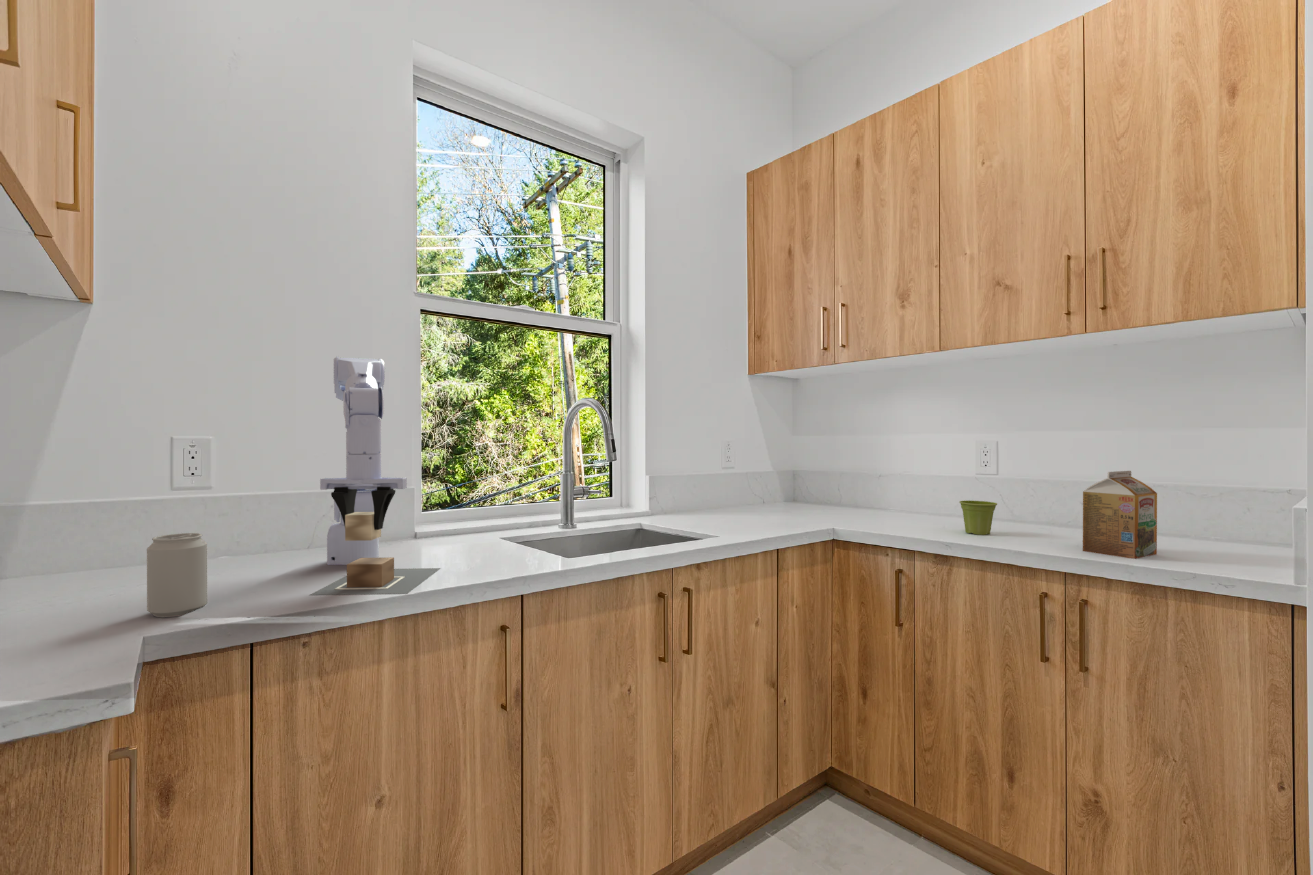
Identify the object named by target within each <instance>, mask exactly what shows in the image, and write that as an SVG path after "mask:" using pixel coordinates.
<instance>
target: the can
mask: <svg viewBox="0 0 1313 875" xmlns="http://www.w3.org/2000/svg"><path fill="white" fill-rule="evenodd" d="M202 536H203V534H202V533H198V532H197V533H195V532H186V533H182V532H181V533H171V534H164V535H163V534H162V535H159V536H158V535H157V536H154V537H152V539H151V540H152V541H153V542H152V543H151V544H150V545H149V546H148V547H147V548H146V611H147V612H148V613H150V614H152V615H153V617H157V618H174V617H181V616H185V615H188V614H190V613H192V612H195V611H197V610H199V609H202V608H204V607H205V606H206V605H207V604H208V542H206V541H205V540H204V539H203V538H202Z"/></svg>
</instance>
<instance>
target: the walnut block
mask: <svg viewBox="0 0 1313 875" xmlns="http://www.w3.org/2000/svg"><path fill="white" fill-rule="evenodd" d="M394 569H395V557H389V556H388V557H379V558H359V559H357V560H355V561H353V562H351V563H349V564H347V565H346V576H347V587H382V586H384V585H386V584H387V583H389V582H390V581H392V580H393V579H394Z"/></svg>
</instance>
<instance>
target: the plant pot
mask: <svg viewBox="0 0 1313 875" xmlns="http://www.w3.org/2000/svg"><path fill="white" fill-rule="evenodd" d="M958 503H959V504H960V507H961V509H962V516H963V522H964V523H963V524H964V531H965V533H966V534H973V535H975V536H976V535H977V536H978V535H980V536H985V535H990V534H991V530H992V523H993V518H994V512H995V510H996V506H997V505H998V503H997V502H993V501H986V500H984V501H983V500H970V499H969V500H959V502H958Z"/></svg>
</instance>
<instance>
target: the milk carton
mask: <svg viewBox="0 0 1313 875" xmlns="http://www.w3.org/2000/svg"><path fill="white" fill-rule="evenodd" d="M1157 543H1158V492H1156V491H1155V490H1154V489H1153V488H1152V487H1150V486H1149V485H1147V484H1146V483H1144V482H1142V481H1141V480H1139V479H1137V478H1134V477H1133V476H1132V470H1119V471H1117V470H1116V471H1107V478H1104V479H1102V480H1100V481H1098V482H1096V483H1094V484H1092V485H1090V486H1088V487H1086V488H1085V490H1082V552H1086V553H1092V554H1101V555H1106V556H1112V557H1119V558H1126V559H1133V560H1135V559H1136V560H1137V559H1140V558H1145V557H1150V556H1154V555H1157V553H1158V548H1157V547H1158V544H1157Z"/></svg>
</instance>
